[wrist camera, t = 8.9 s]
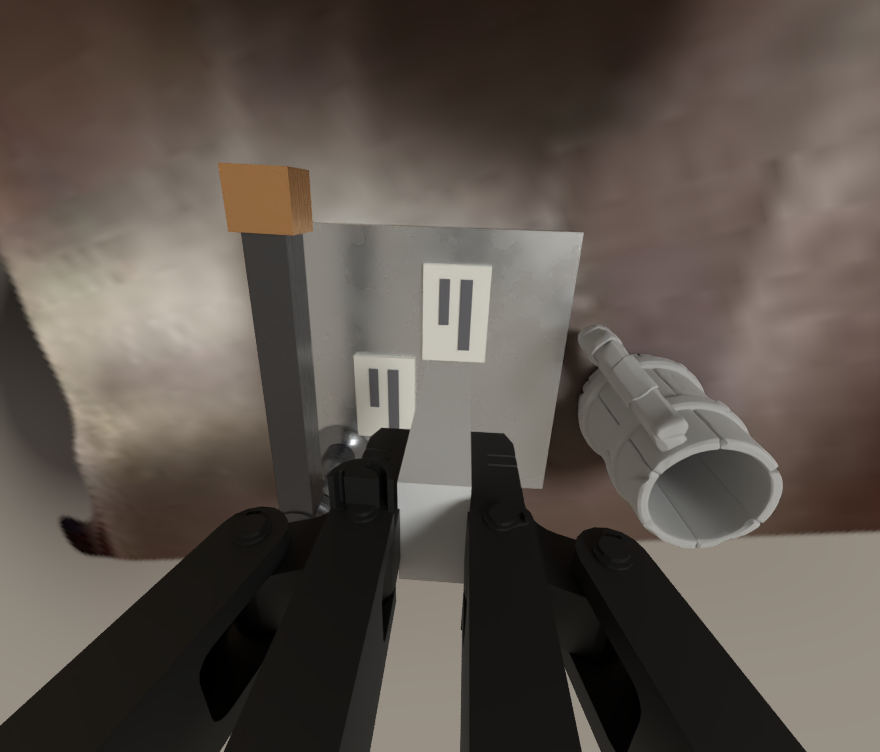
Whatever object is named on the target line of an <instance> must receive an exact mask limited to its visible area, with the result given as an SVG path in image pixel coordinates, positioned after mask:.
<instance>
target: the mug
mask: <svg viewBox="0 0 880 752" xmlns="http://www.w3.org/2000/svg"><path fill="white" fill-rule="evenodd" d="M578 343H579V345H580V346H581V348H582V349H583V351H584V352H585V354H586V355H587V357H588V358H589V359H590V361H591V362H592V363H593V364H594V365H596V366H598V369H597V370H596V371H595V372H594V373H593V374H592V375H591V376H590V377H589V378H588V379H589V381H586V383H585V384H584V386H583V392H584V393H583V394H580V396H579V401H578V420H579V426H580V430H581V432H582V434H583V436H584V438H585V440H586V442H587V443H588V445H589V446H590V447H591V448H592V449H593V450H594V451H595V452H596V453H597V454H599V455H600V456H601V457H602V458H603V459H604V461H605V464H606V468H607V471H608V475H609V477H610V480H611V482H612V484H613V486H614V487H615V489H616V490H617V492H618V493H619V495H620V496H621V497H622V498H623V499H625V500H626V501H627V502H628V503H630V505H631V506H632V508H633V510H634V511H635V513H636V515H637V516H638V518H639V520H640V521H641V523H642V525H643V526H644V527H645V528H646V529H647V530H648V531H650V532H651V533H653V534H654V535H656V536H657V537H658V538H660V539H661V540H663V541H665V542H667V543H669V544H672V545H675V546H678V547H682V548H691V549H693V548H694V547H695V546H696V548H705V547H711V546H716V545H718V544H719V543H721V542H723V541H726V540H728V539H734V538H737V537H739V536H744V535H746V534H748V533H749V532H751V531H753V530H754V529H756V528H758V527H759V526H760V522H761V523H764V522H765V521H766V520H767V519H768V518H769V516H770V515H771V514H772V513H773V511H774V509H775V508H776V506H777V504H778V502H779V499H780V497H781V493H782V487H783V483H782V478H781V475H780V474H779V472H778V471H777V470H776V468H777V467H778V464H777V463H776V461H775V460H774V459H773V457H772V456H771V455H770V454H769V453H768V452H767V451H766V450H764V449H763V448H762V447H761V446H760V445H759V444H758V443H757V442H756V441H755V440H754V439H753V438H752V437H751V436H750V435H749V433H748V430H747V428H746V426H745V425H744V423H743V422H742V421H741V420H740V419H739V418H738V417H737V416H736V415H735V414H734V413H733V412H732V411H730V408H729V407H727V406H726V405H725V404H724V403H722V402H720V401H718V400H713V399H710V398H709V397H708V396H706V395H705V393H704V390H703V388H702V386H701V384H700V382H699V381H698V380H697V378H696V377H695V376H694V375H693V374H692V373H691V372H690V371H689V370H687V368H686V367H685V366H684V365H682V364H680V363H678V362H675V361H672V360H670V359H667V358H662V357H655V356H652V355H648V354H639V356H638V355H637V354H628V352H627V351H626V349H625V348H624V346H623V344H622V342H621V341H620V339H619V338H618V337H617V336H616V335H615V334H614V333H612V332H611V331H610V330H609V329H608V328H607V327H604V326H602V325H600V324H595V325H591V326H589V327H587V328H585V329H583V330H582V331H581V332H580V333H579V334H578Z"/></svg>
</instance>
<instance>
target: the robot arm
mask: <svg viewBox="0 0 880 752" xmlns="http://www.w3.org/2000/svg"><path fill="white" fill-rule="evenodd" d="M327 481H328V490H329V500H330V510H329V512H328V513H326V514H324V515H322V516H319V517H315V518H311V519H306V520H300V521H295V522H289V523H288V519H287V518H286V516H285V515H284V513H283V512H282V511H280V510H278V509H276V508H271V507H257V508H251V509H247V510H244V511H242V512H240V513H237V514H235V515H233V516H232V517H231V518H229V519H228V520H226V521H225V522H223V523H222V524H221V525H220V526H219V527H218V528H217V529H216V530H215V531H214V532H212V533H211V534H210V535H209V536H208V537H207V538H206V539H205V540H204V541H203V542H201V543H200V544H199V545H198V546H197V547H196V548H195V549H194V550H193V551H192V552H190V553H189V554H188V555H187V556H186V557H185V558H184V559H183V560H182V561H181V562H179V564H178V565H176V566H175V567H174V568H173V569H172V570H171V571H170V572H168V573H167V574H166V575H165V576H164V577H163V578H162V579H161V580H160V581H159V582H158V583H157V584H155V585H154V586H153V587H152V588H151V589H150V590H149V591H148V592H147V593H145V595H143V596H142V597H141V598H140V599H139V600H138V601H137V602H136V603H134V604H133V605H132V606H131V607H130V608H129V609H128V610H127V611H126V612H125V613H124V614H122V615H121V616H120V617H119V618H118V619H117V620H116V621H115V622H114V623H113V624H111V626H109V627H108V628H107V629H106V630H105V631H104V632H103V633H101V634H100V635H99V636H98V637H97V638H96V639H95V640H94V641H93V642H92V643H91V644H89V645H88V646H87V647H86V648H85V649H84V650H83V651H82V652H81V653H79V654H78V655H77V656H76V657H75V658H74V659H73V660H72V661H71V662H70V663H69V664H67V666H65V667H64V668H63V669H62V670H61V671H60V672H59V673H58V674H57V675H55V676H54V677H53V678H52V679H51V680H50V681H49V682H48V683H47V684H46V685H44V686H43V687H42V688H41V689H40V690H39V691H38V692H37V693H36V694H35V695H33V696H32V697H31V698H30V699H29V700H28V701H27V702H26V703H25V704H23V705H22V706H21V707H20V708H19V709H18V710H17V711H16V712H15V713H14V714H13V715H11V716H10V717H9V718H8V719H7V720H6V721H5V722H4V723H3V724H2V725H0V752H220V750H221V749H222V747H223V746H224V744H225V742H226V741H227V739H228V738H229V736H230V735H231V736H230V739H229V741H228V743H227V745H226V748H225V750H224V752H370V748H371V741H372V736H373V730H374V725H375V719H376V713H377V708H378V701H379V695H380V690H381V684H382V679H383V673H384V667H385V661H386V656H387V650H388V644H389V638H390V632H391V627H392V621H393V615H394V610H395V604H396V580H397V575H398V570H399V579H411V580H424V581H437V582H451V583H464V593H463V607H462V621H461V630H462V673H461V674H462V675H461V738H460V739H461V740H460V752H582V751H581V746H580V741H579V736H578V731H577V727H576V721H575V717H574V712H573V707H572V702H571V697H570V692H569V688H568V682H567V677H566V672H565V669H566V671H567V674H568V676H569V678H570V680H571V683H572V685H573V688H574V690H575V692H576V695H577V697H578V699H579V702H580V704H581V706H582V708H583V711H584V713H585V716H586V718H587V720H588V722H589V725H590V727H591V729H592V732H593V734H594V736H595V739H596V741H597V743H598V746H599V748H600V750H601V752H806V751H805V749H804V748H803V747H802V746H801V744H800V743H799V742H798V741H797V739H796V738H795V737H794V736H793V734H792V733H791V732H790V731H789V729H788V728H787V727H786V726H785V724H784V723H783V722H782V721H781V720H780V718H779V717H778V716H777V714H776V713H775V712H774V711H773V710H772V708H771V707H770V706H769V704H768V703H767V702H766V701H765V700H764V698H763V697H762V696H761V694H760V693H759V692H758V691H757V689H756V688H755V687H754V686H753V684H752V683H751V682H750V681H749V679H748V678H747V677H746V676H745V675H744V673H743V672H742V671H741V669H740V668H739V667H738V666H737V665H736V663H735V662H734V661H733V659H732V658H731V657H730V656H729V654H728V653H727V652H726V651H725V649H724V648H723V647H722V646H721V644H720V643H719V642H718V641H717V639H716V638H715V637H714V636H713V634H712V633H711V632H710V631H709V629H708V628H707V627H706V626H705V624H704V623H703V622H702V621H701V619H700V618H699V617H698V616H697V614H696V613H695V612H694V611H693V610H692V608H691V607H690V606H689V604H688V603H687V602H686V601H685V599H684V598H683V597H682V596H681V594H680V593H679V592H678V591H677V589H676V588H675V587H674V586H673V585H672V583H671V582H670V581H669V579H668V578H667V577H666V576H665V574H664V573H663V572H662V571H661V569H660V568H659V567H658V565H657V564H656V563H655V562H654V560H652V558H651V557H650V555H649V554H648V553H647V552H646V551H645V549H643V547H641V546H640V545H639V544H638V543H637V542H636V541H635V540H634V539H632V538H630V537H629V536H627V535H625V534H623V533H622V532H619V531H616V530H612V529H609V528H596V527H594V528H591V529H587V530H584V531H583V532H582V533H581V534H580V535H579V536H578V537H577V539H576V540H575V539H572V538H568V537H565V536H562V535H559V534H556V533H554V532H551V531H549V530H547V529H545V528H543V527H542V526H540V525H539V524H538V523H536V522H535V521H534V519H533V517H532V515H531V513H530V512H529V511H528V510H527V509H526V507H525V504H524V498H523V493H522V488H521V482H520V477H519V472H518V468H517V461H516V458H515V450H514V445H513V443H512V442H511V441H510V440H509V438H508V437H507V436H506V435H505V434H504V433H489V432H471V414H470V364H455V363H435V362H427V364H426V368H425V372H424V376H423V380H422V384H421V388H420V392H419V396H418V400H417V404H416V409H415V413H414V417H413V421H412V425H411V429H397V428H380V429H379V430H378V431H377V432H375V433H374V434H373V435H372V436H371V437H370V439H369V441H368V443H367V446H366V450H365V451H364V453H363V456H362V458H360V459H353V460H349V461H346V462H343V463H341V464H339V465H338V466H336V467H334V468H333V469H332V470H331V471H330V473H329V474H328V475H327ZM231 733H232V734H231Z"/></svg>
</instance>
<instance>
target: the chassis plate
mask: <svg viewBox="0 0 880 752" xmlns="http://www.w3.org/2000/svg"><path fill="white" fill-rule="evenodd" d="M583 234H584V233H583V232H578V231H549V230H519V229H490V228H461V227H431V226H402V225H372V224H343V223H313V231H312V232H308V233H303V243H304V255H305V267H306V280H307V292H308V304H309V317H310V329H311V341H312V354H313V366H314V378H315V391H316V403H317V415H318V428H319V431H320V430H322V429H325V428H328V427H333V426H340V427H346V428H349V429H352V430H354V431H356V432H358V423H357V407H356V391H355V375H354V359H353V356H354V355H355V354H363V355H383V356H404V357H415V409H416V404H417V400H418V396H419V392H420V388H421V384H422V380H423V376H424V372H425V368H426V364H427V362H435V363H455V364H470V414H471V432H489V433H504V434H505V435H506V436H507V437H508V438H509V440H510V441H511V442H512V443H513V445H514V450H515V458H516V461H517V468H518V472H519V477H520V482H521V488H534V489H542V487H543V481H544V475H545V469H546V462H547V456H548V450H549V444H550V438H551V431H552V425H553V419H554V413H555V407H556V401H557V394H558V388H559V382H560V376H561V370H562V364H563V357H564V351H565V345H566V339H567V333H568V327H569V320H570V314H571V308H572V302H573V296H574V290H575V283H576V277H577V271H578V265H579V259H580V252H581V246H582V240H583ZM424 263H436V264H462V265H489V266H492V275H491V288H490V301H489V314H488V326H487V339H486V352H485V363H480V362H460V361H440V360H422V348H423V264H424ZM363 437H364V438H365V439H366V440H367V442H368V441H369V439H370V437H371V436H363Z"/></svg>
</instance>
